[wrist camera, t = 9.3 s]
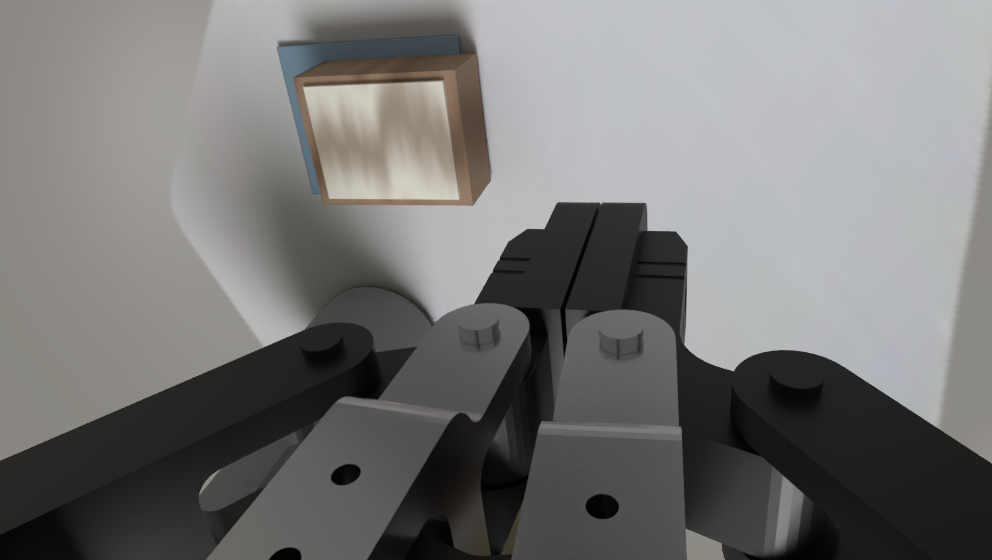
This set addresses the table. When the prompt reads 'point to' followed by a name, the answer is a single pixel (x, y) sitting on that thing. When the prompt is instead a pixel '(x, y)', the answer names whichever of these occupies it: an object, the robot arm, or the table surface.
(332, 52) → the rubber mat
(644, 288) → the robot arm
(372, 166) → the wooden block
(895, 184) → the table surface
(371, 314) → the water bottle
